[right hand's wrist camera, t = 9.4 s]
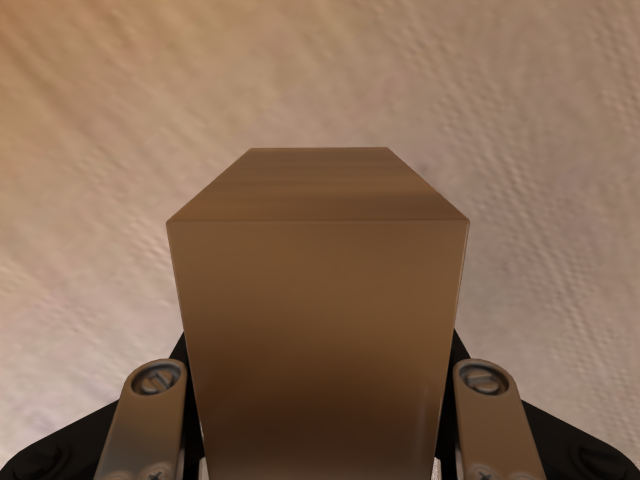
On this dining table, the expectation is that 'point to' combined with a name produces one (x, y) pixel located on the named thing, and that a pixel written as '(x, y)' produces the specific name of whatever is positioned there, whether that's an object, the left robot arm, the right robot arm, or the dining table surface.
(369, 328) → the bar
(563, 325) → the dining table surface
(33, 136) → the dining table surface
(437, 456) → the right robot arm
